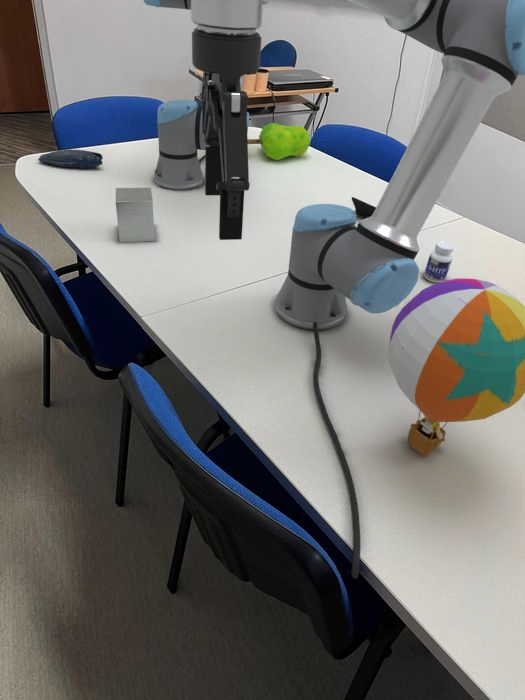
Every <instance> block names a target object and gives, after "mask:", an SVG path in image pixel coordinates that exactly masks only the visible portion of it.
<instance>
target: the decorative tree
mask: <svg viewBox="0 0 525 700" xmlns="http://www.w3.org/2000/svg"><path fill="white" fill-rule="evenodd" d="M247 139H248V145H260V146H261V148H262V150H263V152H264V154H265V155H266V157H267V158H269V159H272V160H273V161H281V160H283V159H285V158H287V157H300V156H302V155H305V154H306V153H307V151H308V148H309V147H310V145H311V136H310V133H309V132H308V131H307V130H306V129H305V128H304V127H303V126H302V125H283V124H278V123H275V122H271V123H269V124H267V125H265V126H263V127H262V129H261V131H260V133H259V135H258V138H247Z"/></svg>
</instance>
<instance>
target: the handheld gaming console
mask: <svg viewBox="0 0 525 700" xmlns="http://www.w3.org/2000/svg"><path fill="white" fill-rule="evenodd" d="M351 201H352V204H353V206H354V209H355V211H354V212H355V213H356V214H359V215H360V216H362V217H364V218H369V217H371V216H372V215H373V213H374V211H375V209H376V207H377V206H374V205H372V204H370V203H367V202H365V201H363V200H360V199H358V198H356V197H354V196H352V197H351Z"/></svg>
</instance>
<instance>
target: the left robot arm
mask: <svg viewBox="0 0 525 700" xmlns="http://www.w3.org/2000/svg"><path fill="white" fill-rule="evenodd" d="M143 3H144V4H145V5H146V6H150V7H155V8H165V9H166V8H167V9H179V10H180V9H181V10H189V11H191V0H143ZM243 85H244V75H243V76H241V77H240V86H241V91H243V87H244V86H243ZM206 86H207V73H206V72H203V71H202V83H201V92H200V93H201V94H200V100H201V104H202V107H199V105H198V102H197V101H196V100H194V99H189V98H187V99H173V100H169V101H166V102H165V101H164V102H163V103H161V104H159V106H158V107H157V114H156V115H157V117H156V118H157V120H156V124H157V136H158V159H157V163H156V166H153V175H154V177H153V178H154V182H155V184H156V185H158V186H160V187H162V188H165V189H169V190H175V191H176V190H179V191H181V190H182V191H184V190H192V189H196V188H198V187H200V186H202V185H203V183H204V173H203V169H202V167H201V164H200V163H201V162H202V161H203V160H205V154H204V155H203V156H202V157H200V158H199V157H198V151H205V147H209V145H206V143H205V137H206V136H204V133H203V129H204V119H205V105H206ZM249 125H250V113H249V112H248V111H247V134H248V132H249Z"/></svg>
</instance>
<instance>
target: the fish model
mask: <svg viewBox="0 0 525 700" xmlns="http://www.w3.org/2000/svg"><path fill="white" fill-rule="evenodd" d="M103 159H104V157H103V155H102V154H101V153H100V152H95V151H89V150H84V149H59V150H56V151H51V152H48V153H44V154H43V153H42V154H41V155H40V156H39V157H38V158H37V160H38V161H39V162H41V163H44V164H47V165H49V166H50V165H51V166H55V167H61V168H78V169H82V170H86V169H89V168H93V169H96V168H98V167H99V166H102V165H103V161H102V160H103Z"/></svg>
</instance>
